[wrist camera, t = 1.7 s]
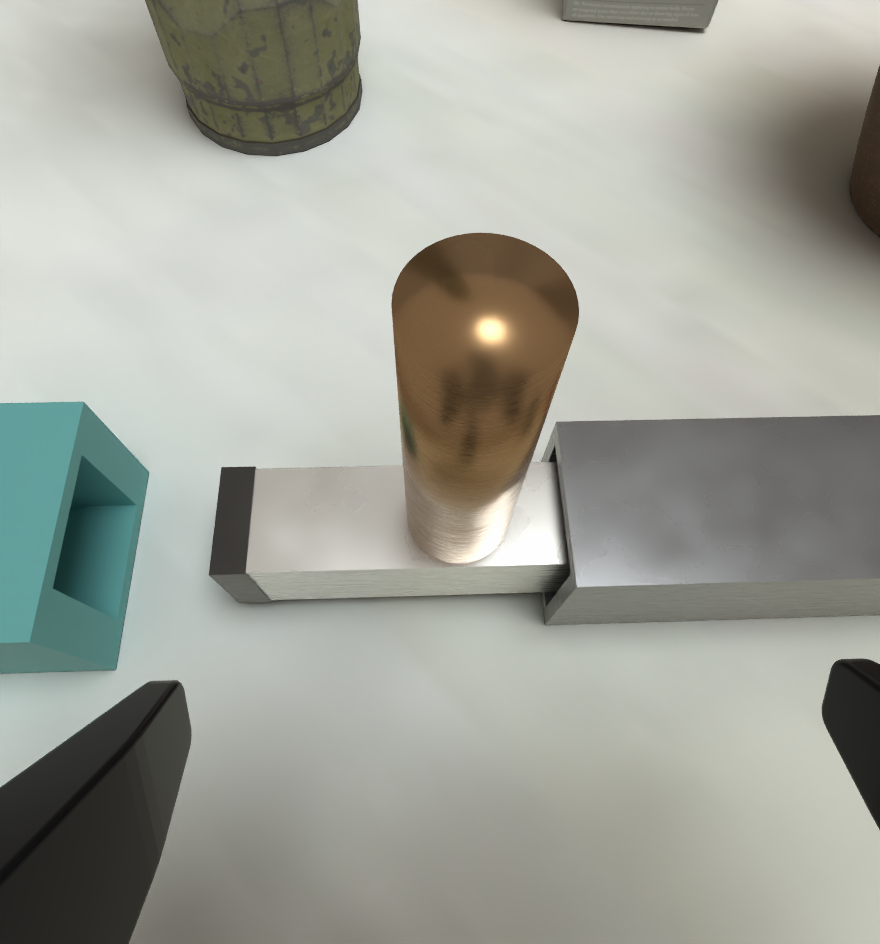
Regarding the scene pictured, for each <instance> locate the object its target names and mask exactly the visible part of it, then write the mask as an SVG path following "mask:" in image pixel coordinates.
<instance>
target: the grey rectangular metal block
mask: <svg viewBox="0 0 880 944" xmlns="http://www.w3.org/2000/svg"><path fill="white" fill-rule="evenodd" d="M541 462H557V465H558V473H559V481H560V490H561V498H562V506H563V514H564V522H565V530H566V539H567V547H568V555H569V563H570V571H571V574H570V576H569V577H568V578H567V580H566V581H565V582H564V584H563V585H562V586H561V588H560V589H559V590H558V592H542V600H543V610H544V620H545V625H567V624H599V623H632V622H664V621H696V620H729V619H761V618H793V617H825V616H858V615H880V415H871V416H821V417H772V418H723V419H673V420H624V421H574V422H556V424H555V426H554V429H553V432H552V434H551V437H550V440H549V442H548V445H547V448H546V450H545V453H544V456H543V458H542V461H541Z"/></svg>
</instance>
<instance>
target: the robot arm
mask: <svg viewBox="0 0 880 944" xmlns="http://www.w3.org/2000/svg"><path fill="white" fill-rule="evenodd" d="M822 717H823V721H824V724H825V726H826V728H827V730H828V732H829V734H830V736H831V738H832V740H833V742H834V744H835V746H836V748H837V750H838V752H839V753H840V755H841V757H842V759H843V761H844V763H845V765H846V767H847V769H848V771H849V773H850V775H851V777H852V779H853V780H854V782H855V784H856V786H857V788H858V790H859V792H860V794H861V796H862V798H863V800H864V802H865V804H866V806H867V807H868V809H869V811H870V813H871V815H872V817H873V819H874V820H875V822H876V824H877V826H878V828H879V829H880V664H878V663H876V662H874V661H871V660H868V659H841V660H838V661H836V662H835V663H834V664H833V666H832V668H831V671H830V675H829V679H828V683H827V687H826V692H825V696H824V700H823V704H822ZM190 744H191V724H190V719H189V713H188V708H187V702H186V697H185V691H184V688H183V686H182V684H181V683H180V682H179V681H177V680H168V681H150V682H148V683H146V684H144V685H143V686H142V687H140V688H139V689H137V690H136V691H135V692H133V693H132V694H130V695H129V696H128V697H126V698H125V699H123V700H122V701H121V702H119V703H118V704H116V705H115V706H114V707H112V708H111V709H109V710H108V711H107V712H105V713H104V714H102V715H101V716H100V717H98V718H97V719H95V720H94V721H93V722H91V723H90V724H88V725H87V726H86V727H84V728H83V729H81V730H80V731H79V732H77V733H76V734H74V735H73V736H72V737H70V738H69V739H67V740H66V741H65V742H63V743H62V744H60V745H59V746H58V747H56V748H55V749H53V750H52V751H51V752H49V753H48V754H46V755H45V756H44V757H42V758H41V759H39V760H38V761H37V762H35V763H34V764H32V765H31V766H30V767H28V768H27V769H25V770H24V771H23V772H21V773H20V774H18V775H17V776H16V777H14V778H13V779H11V780H10V781H9V782H7V783H6V784H4V785H3V786H2V787H0V944H129V941H130V939H131V936H132V933H133V931H134V928H135V926H136V923H137V920H138V918H139V915H140V912H141V910H142V907H143V904H144V902H145V899H146V896H147V894H148V891H149V889H150V886H151V883H152V881H153V878H154V875H155V872H156V869H157V866H158V864H159V861H160V858H161V854H162V851H163V847H164V844H165V840H166V836H167V833H168V829H169V825H170V821H171V817H172V814H173V810H174V806H175V802H176V798H177V795H178V791H179V787H180V783H181V779H182V776H183V772H184V768H185V764H186V760H187V757H188V753H189V749H190Z"/></svg>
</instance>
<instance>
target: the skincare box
mask: <svg viewBox="0 0 880 944" xmlns="http://www.w3.org/2000/svg"><path fill="white" fill-rule="evenodd" d="M717 3H718V0H564V3H563V17H562V19H563V20H570V21H588V22H605V23H621V24H639V25H656V26H673V27H690V28H707V27H708V25H709V23H710V21H711V18H712V16H713V13H714V11H715V8H716V5H717Z"/></svg>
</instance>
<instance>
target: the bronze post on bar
mask: <svg viewBox="0 0 880 944" xmlns="http://www.w3.org/2000/svg"><path fill="white" fill-rule="evenodd" d="M392 317H393V331H394V345H395V359H396V373H397V387H398V401H399V415H400V429H401V443H402V457H403V466H363V467H318V468H273V469H256V467H222V468H221V477H220V485H219V494H218V502H217V511H216V519H215V528H214V536H213V545H212V553H211V562H210V571H209V576H210V577H212V578H213V579H214V580H215V581H216V582H217V583H218V584H219V585H220V586H222V587H223V588H224V589H225V590H226V591H227V592H228V593H229V594H231V595H232V596H233V597H234V598H235V599H236V600H237V601H238V602H239V603H254V602H271V600H292V599H326V598H360V597H395V596H429V595H463V594H497V593H532V592H558V590H559V589H560V588H561V586H562V585H563V584H564V582H565V581H566V580H567V578H568V577H569V576H570V574H571V571H570V563H569V555H568V547H567V539H566V530H565V522H564V514H563V506H562V498H561V490H560V481H559V473H558V465H557V462H541V463H530V462H531V459H532V456H533V454H534V451H535V448H536V445H537V442H538V439H539V436H540V433H541V430H542V427H543V425H544V422H545V419H546V416H547V413H548V410H549V407H550V404H551V401H552V398H553V395H554V393H555V390H556V387H557V384H558V381H559V378H560V375H561V372H562V369H563V366H564V364H565V361H566V358H567V355H568V352H569V349H570V346H571V343H572V340H573V337H574V335H575V332H576V328H577V324H578V317H579V306H578V299H577V295H576V291H575V289H574V286H573V284H572V282H571V280H570V279H569V277H568V275H567V274H566V272H565V271H564V270H563V269H562V267H561V266H560V265H559V264H558V263H557V262H556V261H555V260H554V259H553V258H552V257H550V256H549V255H548V254H546V253H545V252H544V251H542V250H540V249H539V248H537V247H535V246H533V245H531V244H529V243H527V242H525V241H522V240H519V239H516V238H514V237H509V236H505V235H500V234H493V233H469V234H462V235H457V236H453V237H449V238H446V239H443V240H441V241H438V242H436V243H434V244H432V245H430V246H428V247H426V248H425V249H423V250H422V251H421V252H419V253H418V254H417V255H416V256H414V257H413V258H412V259H411V260H410V261H409V262H408V264H407V265H406V266H405V267H404V268H403V270H402V272H401V273H400V275H399V277H398V279H397V281H396V284H395V286H394V290H393V294H392Z"/></svg>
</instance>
